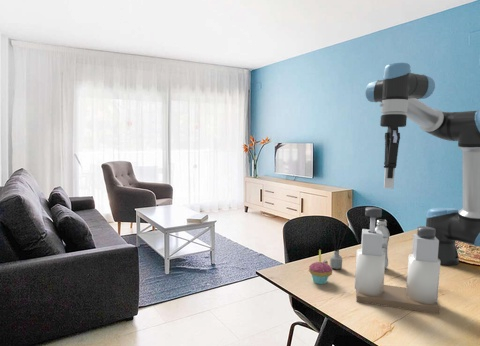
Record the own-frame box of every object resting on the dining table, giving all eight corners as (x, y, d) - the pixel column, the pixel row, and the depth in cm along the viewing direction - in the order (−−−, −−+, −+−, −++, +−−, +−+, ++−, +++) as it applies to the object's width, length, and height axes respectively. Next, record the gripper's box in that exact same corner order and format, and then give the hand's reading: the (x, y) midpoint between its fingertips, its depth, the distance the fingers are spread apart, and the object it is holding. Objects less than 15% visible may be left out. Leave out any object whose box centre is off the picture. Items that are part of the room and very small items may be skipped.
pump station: (431, 296, 114) (436, 233, 111) (441, 314, 102) (447, 244, 100) (353, 286, 121) (357, 226, 119) (354, 301, 110) (358, 235, 107)
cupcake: (305, 277, 128) (306, 246, 127) (327, 276, 129) (328, 246, 128) (312, 286, 120) (313, 254, 119) (335, 286, 120) (337, 254, 119)
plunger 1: (379, 235, 114) (380, 207, 113) (380, 239, 109) (382, 210, 108) (363, 233, 115) (365, 206, 114) (364, 237, 110) (365, 209, 109)
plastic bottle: (389, 272, 134) (392, 223, 132) (371, 270, 136) (374, 222, 134) (386, 266, 141) (389, 219, 139) (369, 264, 142) (371, 218, 140)
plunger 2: (431, 255, 109) (433, 227, 108) (435, 260, 105) (437, 231, 104) (414, 253, 111) (416, 225, 110) (417, 258, 106) (419, 229, 105)
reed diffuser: (348, 268, 137) (351, 220, 135) (343, 274, 131) (346, 224, 129) (324, 263, 143) (326, 217, 141) (318, 268, 137) (320, 220, 135)
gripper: (378, 115, 114) (373, 184, 116) (383, 112, 101) (378, 190, 103) (402, 115, 112) (397, 186, 114) (411, 112, 99) (405, 191, 101)
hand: (388, 187), depth 109 cm, fingers closed
